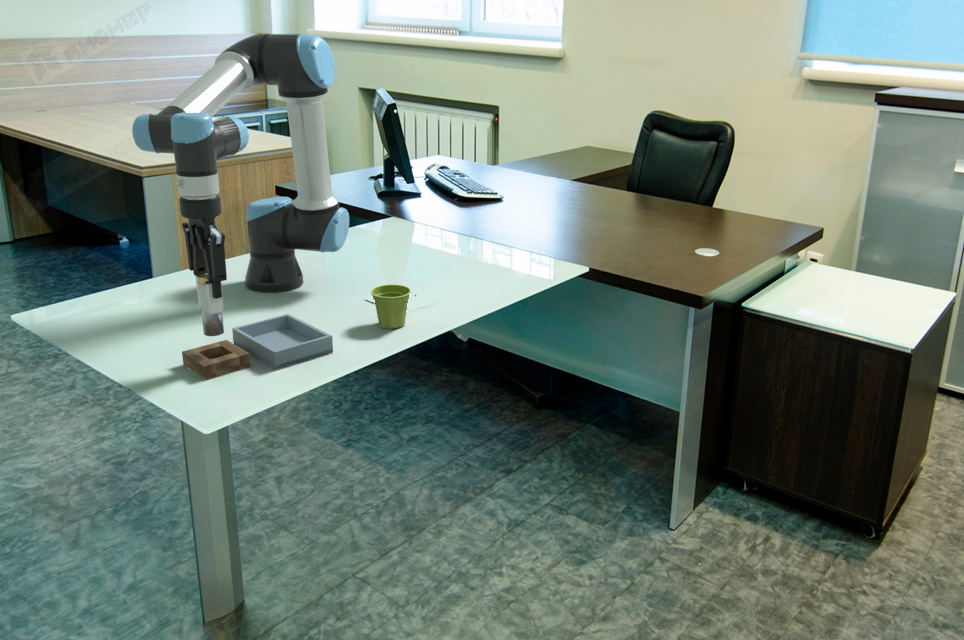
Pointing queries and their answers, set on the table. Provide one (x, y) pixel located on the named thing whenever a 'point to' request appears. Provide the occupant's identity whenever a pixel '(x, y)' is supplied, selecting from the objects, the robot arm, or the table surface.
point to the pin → (210, 321)
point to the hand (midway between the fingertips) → (211, 309)
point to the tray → (282, 341)
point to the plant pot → (391, 304)
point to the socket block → (216, 359)
